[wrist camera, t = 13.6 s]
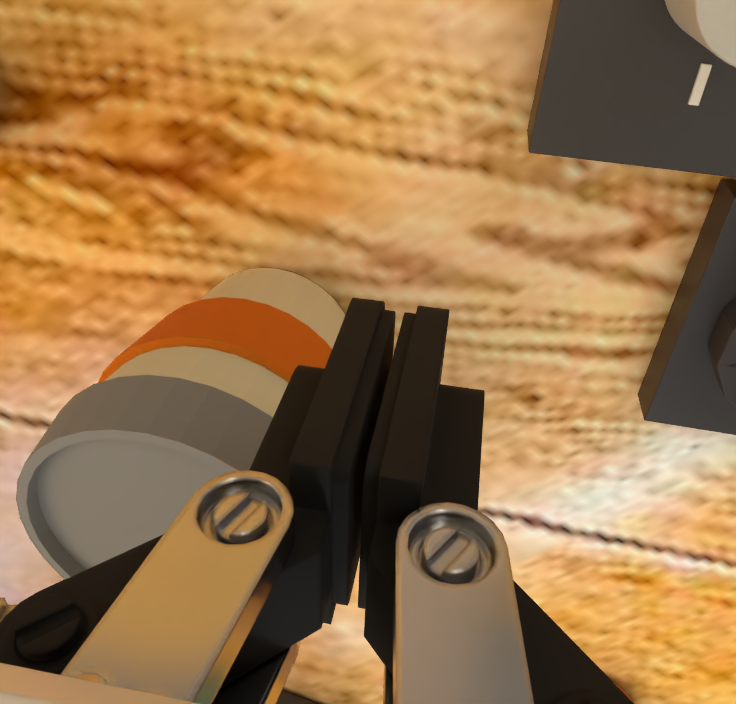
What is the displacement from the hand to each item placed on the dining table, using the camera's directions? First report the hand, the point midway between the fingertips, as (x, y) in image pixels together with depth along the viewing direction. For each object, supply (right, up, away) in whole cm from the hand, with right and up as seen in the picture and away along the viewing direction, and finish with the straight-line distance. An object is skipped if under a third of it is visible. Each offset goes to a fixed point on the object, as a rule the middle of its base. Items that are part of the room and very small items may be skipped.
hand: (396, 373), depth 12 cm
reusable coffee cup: (-6, +1, +26) cm, 27 cm away
